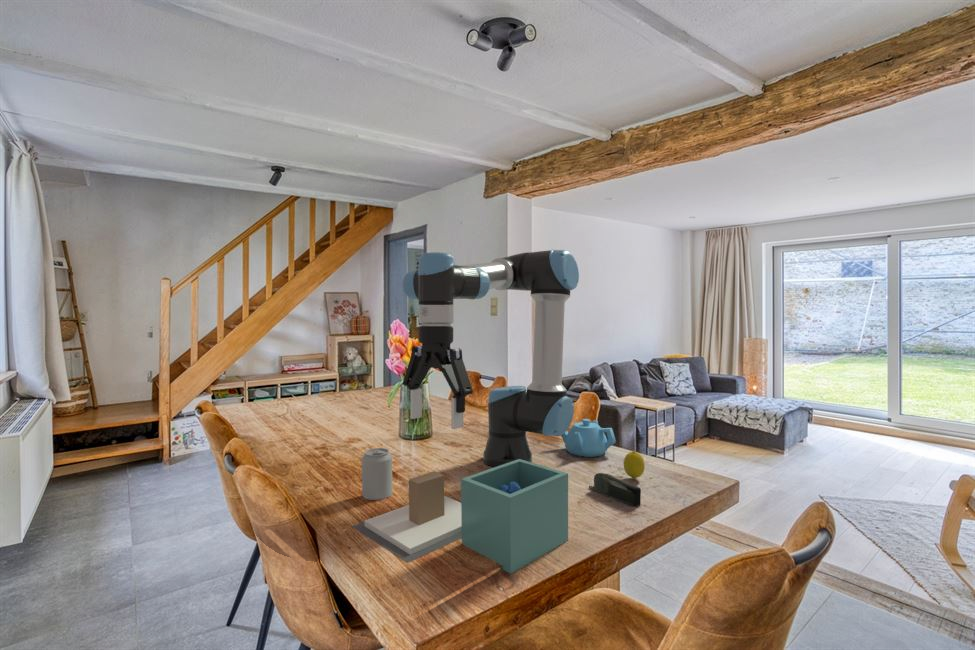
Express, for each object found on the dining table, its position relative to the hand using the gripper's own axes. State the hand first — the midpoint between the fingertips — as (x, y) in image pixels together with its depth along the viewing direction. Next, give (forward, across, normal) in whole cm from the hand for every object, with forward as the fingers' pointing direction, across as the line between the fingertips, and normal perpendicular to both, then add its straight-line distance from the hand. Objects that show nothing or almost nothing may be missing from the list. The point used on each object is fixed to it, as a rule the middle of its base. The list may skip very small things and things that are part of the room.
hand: (435, 422), depth 104 cm
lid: (+22, -2, -1) cm, 22 cm away
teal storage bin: (+23, +17, +6) cm, 30 cm away
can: (+23, -24, +1) cm, 33 cm away
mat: (+23, -2, -1) cm, 23 cm away
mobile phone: (+23, +20, +42) cm, 52 cm away
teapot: (+22, -5, +69) cm, 73 cm away
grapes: (+23, +18, +6) cm, 30 cm away
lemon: (+22, +19, +56) cm, 63 cm away
